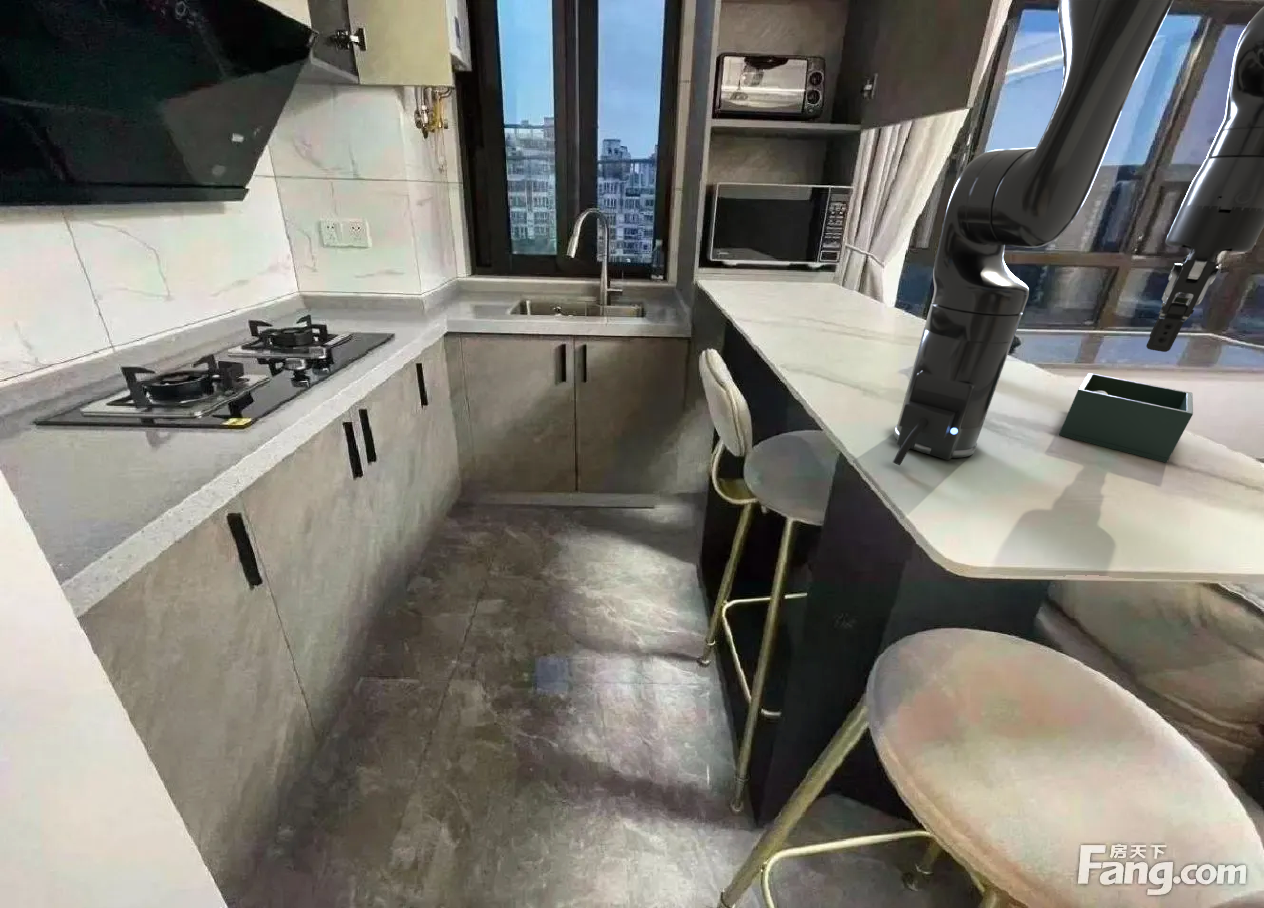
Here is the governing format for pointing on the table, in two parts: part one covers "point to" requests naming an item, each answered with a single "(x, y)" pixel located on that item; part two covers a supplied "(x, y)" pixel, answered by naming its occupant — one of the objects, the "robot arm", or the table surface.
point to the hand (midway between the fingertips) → (1157, 345)
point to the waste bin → (1128, 416)
